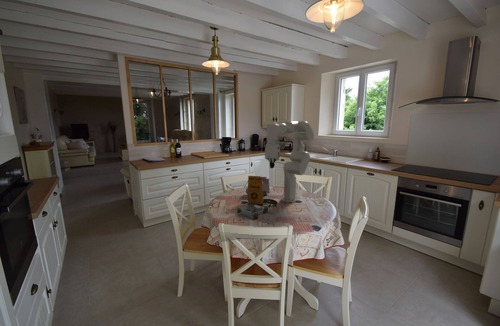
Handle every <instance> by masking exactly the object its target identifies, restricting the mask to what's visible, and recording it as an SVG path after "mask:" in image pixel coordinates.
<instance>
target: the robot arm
mask: <svg viewBox="0 0 500 326" xmlns="http://www.w3.org/2000/svg"><path fill="white" fill-rule="evenodd" d="M291 133H292V134H293V135H292V136H293V141H294V146H293V148H292V151H291V152H290V156H289V160H290V161H286V162H284V164H283V174H284V177H283V178H284V179H283V180H284V181H283V196H282V197H281V200H282V201H283V202H287V203H295V202H297V201H298V197H297V196H296V195H297V177H296V175H297V176H303V175H304V174H305V172H306V171H307V168H308V165H309V163H310V160H311V155H310V153H309V151H305V143H303V142H311V141H313V140H314V138H315V133H314V130H313V128H312V127H311V124H310V123H309V122H308V121H305V120H291V121H290V120H289V121H279V122H270V123H267V125H266V144H265V148H264V159H265V160H267V162H269V169H274V168H275V163H276V162H277V161H280V157H281V149H280V144H279V143H280V140H279V139H278V138H279V135H283V134H291Z"/></svg>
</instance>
